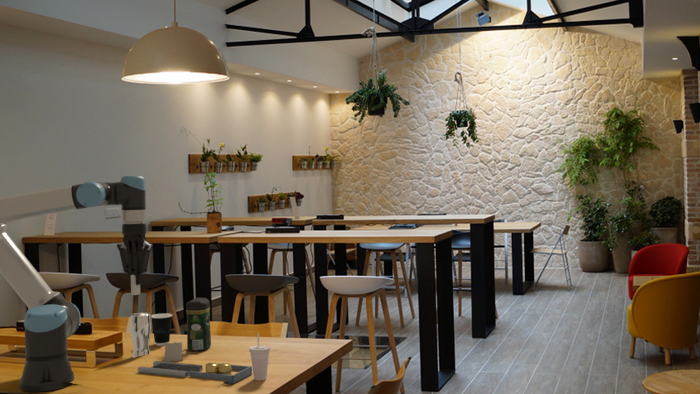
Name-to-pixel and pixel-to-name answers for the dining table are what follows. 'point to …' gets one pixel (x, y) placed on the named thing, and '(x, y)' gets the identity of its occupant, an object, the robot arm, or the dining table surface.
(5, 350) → the dining table surface
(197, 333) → the coffee jar
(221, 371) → the gold rounded cube
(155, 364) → the slot plate
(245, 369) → the blue-grey rectangular frame
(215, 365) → the gold rounded block
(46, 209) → the robot arm
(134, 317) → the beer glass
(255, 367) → the smoothie
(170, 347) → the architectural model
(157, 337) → the dixie cup
